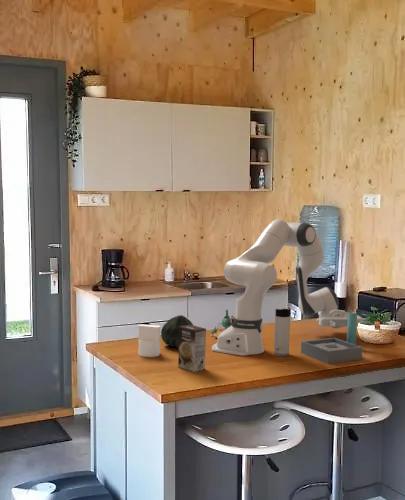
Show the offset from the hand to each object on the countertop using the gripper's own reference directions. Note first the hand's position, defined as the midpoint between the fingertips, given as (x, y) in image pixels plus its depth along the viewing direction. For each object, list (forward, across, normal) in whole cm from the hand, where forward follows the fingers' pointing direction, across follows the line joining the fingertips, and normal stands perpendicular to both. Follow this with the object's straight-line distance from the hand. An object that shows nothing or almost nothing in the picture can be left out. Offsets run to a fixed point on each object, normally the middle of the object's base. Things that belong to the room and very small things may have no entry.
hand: (346, 324), depth 286 cm
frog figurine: (-16, -52, +10) cm, 55 cm away
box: (+17, -13, +9) cm, 23 cm away
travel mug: (+14, -33, +10) cm, 37 cm away
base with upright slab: (+10, -89, +10) cm, 90 cm away
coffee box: (+32, -74, +10) cm, 81 cm away
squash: (-2, -75, +10) cm, 76 cm away
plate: (+17, -13, +9) cm, 23 cm away
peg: (+7, 0, +9) cm, 12 cm away
